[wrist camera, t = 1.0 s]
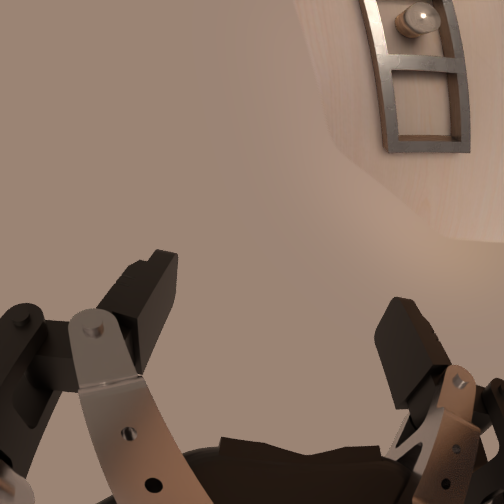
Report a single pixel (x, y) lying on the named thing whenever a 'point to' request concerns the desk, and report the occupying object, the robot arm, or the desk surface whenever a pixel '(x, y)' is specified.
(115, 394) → the robot arm
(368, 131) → the desk surface
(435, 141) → the gray open tray
